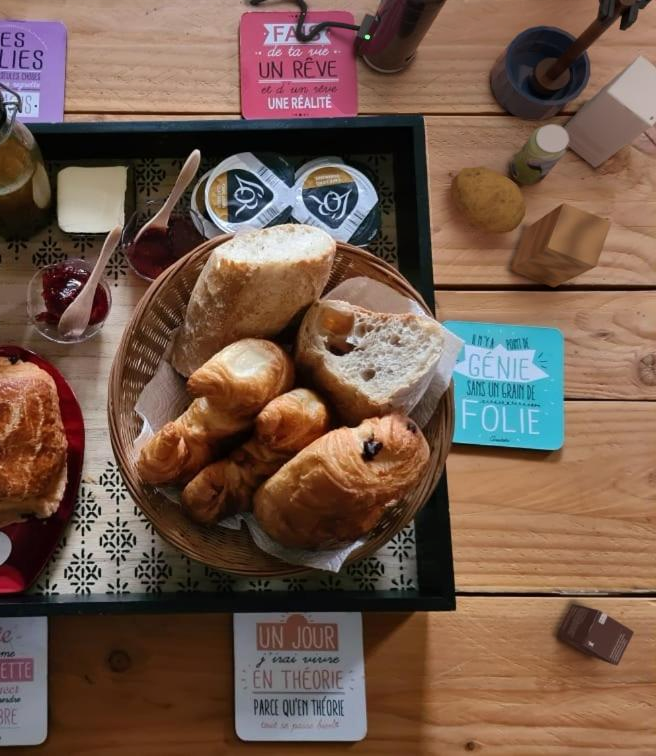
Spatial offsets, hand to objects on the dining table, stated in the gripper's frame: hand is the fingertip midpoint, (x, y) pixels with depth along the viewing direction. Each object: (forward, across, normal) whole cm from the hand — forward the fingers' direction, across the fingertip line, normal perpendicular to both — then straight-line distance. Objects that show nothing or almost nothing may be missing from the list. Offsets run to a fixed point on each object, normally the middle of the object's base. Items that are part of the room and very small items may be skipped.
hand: (616, 24), depth 108 cm
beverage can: (+13, 0, +22) cm, 26 cm away
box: (+88, +22, +22) cm, 93 cm away
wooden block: (+29, +5, +22) cm, 37 cm away
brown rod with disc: (-3, 0, +20) cm, 20 cm away
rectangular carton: (+4, +10, +22) cm, 25 cm away
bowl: (-3, -2, +22) cm, 22 cm away
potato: (+23, -7, +22) cm, 33 cm away
